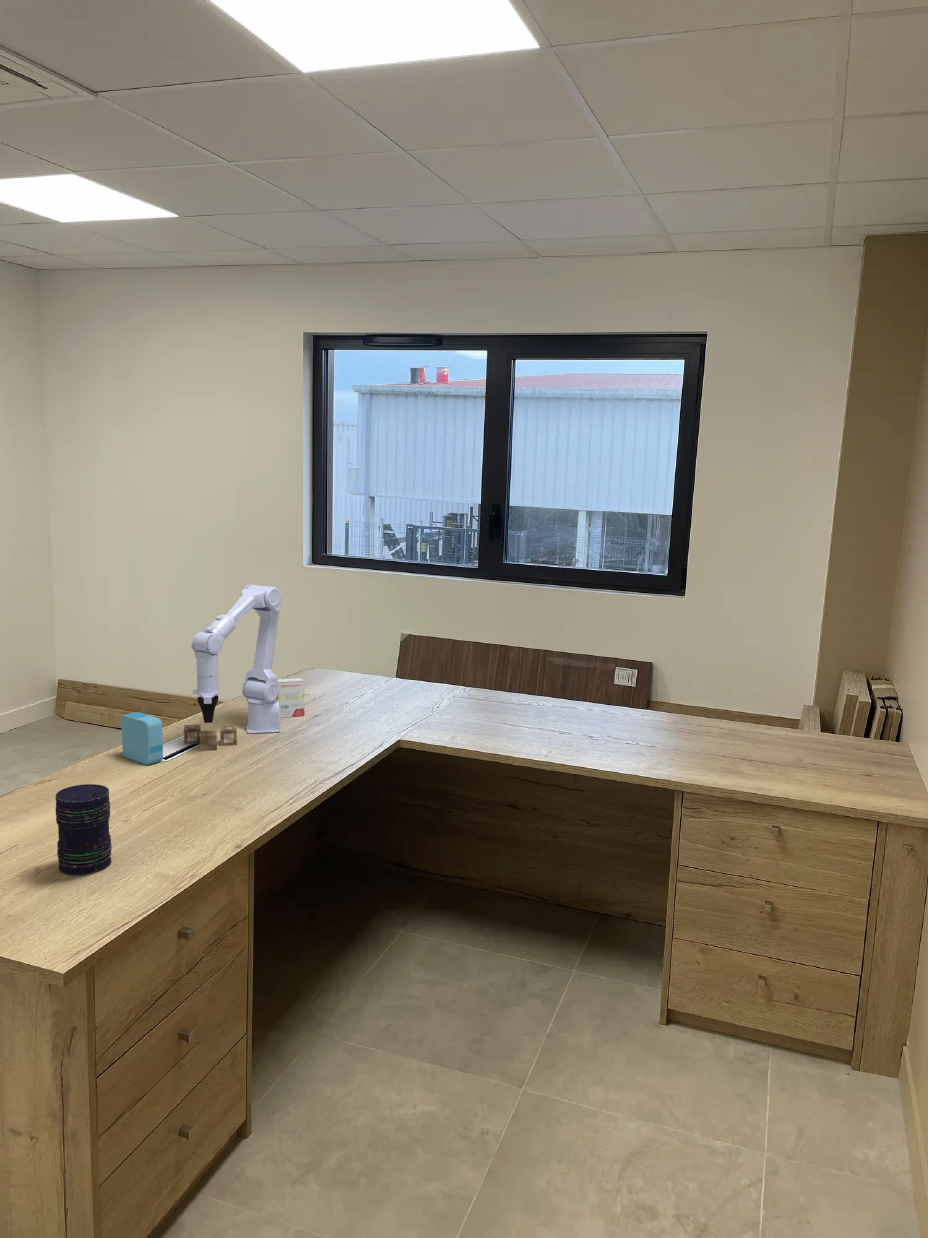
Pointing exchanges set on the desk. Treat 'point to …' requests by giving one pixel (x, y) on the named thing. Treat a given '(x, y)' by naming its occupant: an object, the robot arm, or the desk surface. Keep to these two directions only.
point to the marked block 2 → (228, 735)
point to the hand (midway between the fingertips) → (208, 722)
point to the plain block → (208, 740)
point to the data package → (142, 738)
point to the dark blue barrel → (83, 829)
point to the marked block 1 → (192, 734)
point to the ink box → (290, 697)
